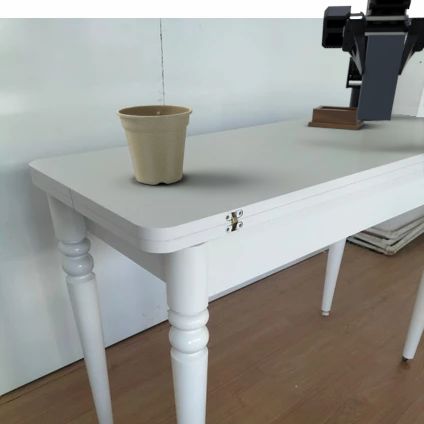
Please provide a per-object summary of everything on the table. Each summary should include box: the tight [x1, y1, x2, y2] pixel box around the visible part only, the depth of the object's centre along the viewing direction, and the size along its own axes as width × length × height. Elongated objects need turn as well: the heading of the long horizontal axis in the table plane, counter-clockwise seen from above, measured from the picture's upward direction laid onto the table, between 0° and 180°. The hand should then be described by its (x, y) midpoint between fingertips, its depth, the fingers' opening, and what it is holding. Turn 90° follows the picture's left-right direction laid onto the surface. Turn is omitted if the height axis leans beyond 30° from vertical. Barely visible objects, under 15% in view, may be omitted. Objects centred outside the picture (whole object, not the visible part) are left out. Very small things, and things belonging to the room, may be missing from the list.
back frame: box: [307, 105, 366, 131], centre depth 93 cm, size 7×10×3 cm
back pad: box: [357, 35, 407, 121], centre depth 68 cm, size 2×5×12 cm, turn 76°
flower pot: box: [115, 104, 193, 186], centre depth 58 cm, size 9×9×9 cm
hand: (381, 73), depth 67 cm, fingers closed on back pad, 5 cm apart
